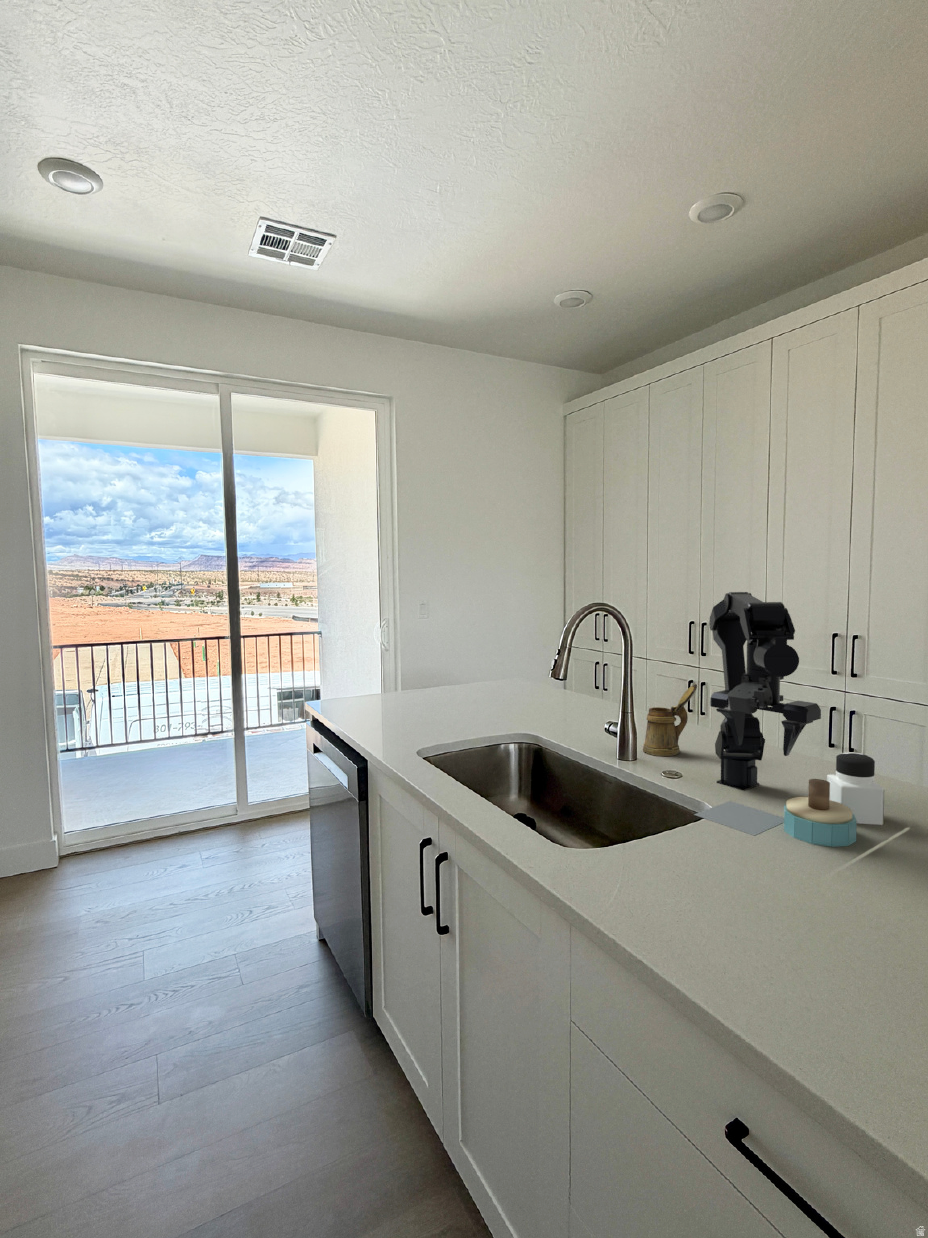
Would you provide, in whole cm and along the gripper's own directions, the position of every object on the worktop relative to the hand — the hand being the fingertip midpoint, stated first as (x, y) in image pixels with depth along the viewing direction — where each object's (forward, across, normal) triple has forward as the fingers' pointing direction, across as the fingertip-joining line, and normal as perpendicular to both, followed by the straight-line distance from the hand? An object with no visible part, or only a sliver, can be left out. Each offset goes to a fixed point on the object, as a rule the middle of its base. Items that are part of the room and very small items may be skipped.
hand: (761, 750), depth 116 cm
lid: (+8, +11, -1) cm, 14 cm away
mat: (+12, -1, -5) cm, 14 cm away
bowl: (+12, +11, -1) cm, 17 cm away
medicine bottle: (+13, +11, +12) cm, 21 cm away
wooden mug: (+13, -37, +22) cm, 45 cm away
